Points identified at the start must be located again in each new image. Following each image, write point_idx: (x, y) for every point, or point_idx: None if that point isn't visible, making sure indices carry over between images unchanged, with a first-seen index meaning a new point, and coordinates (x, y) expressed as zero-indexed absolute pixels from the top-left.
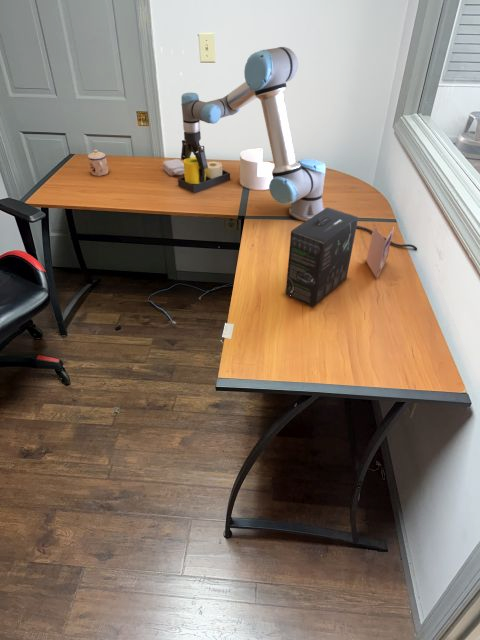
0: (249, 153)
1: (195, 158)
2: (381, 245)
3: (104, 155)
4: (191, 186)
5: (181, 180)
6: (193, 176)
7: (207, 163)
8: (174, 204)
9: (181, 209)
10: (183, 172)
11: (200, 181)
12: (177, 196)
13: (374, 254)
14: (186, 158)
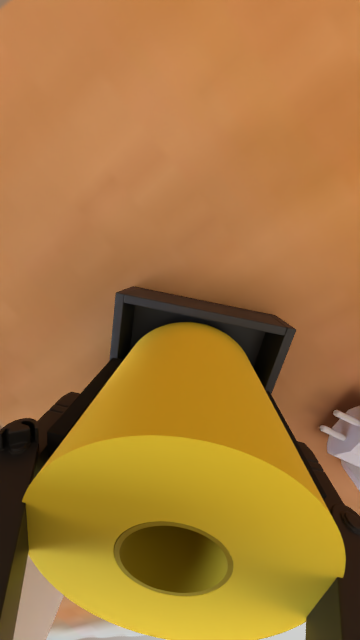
0: None
1: (210, 613)
2: None
3: None
4: (139, 295)
5: (251, 320)
6: (133, 355)
7: None
8: (107, 60)
9: (14, 28)
10: (335, 441)
11: (109, 361)
12: (180, 187)
13: None
14: (332, 585)
